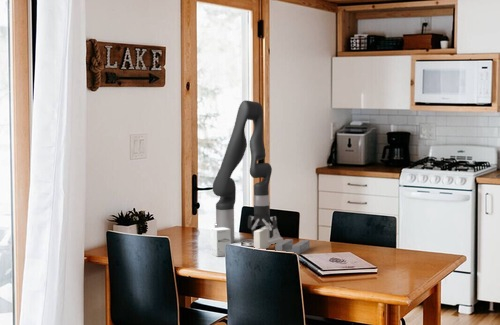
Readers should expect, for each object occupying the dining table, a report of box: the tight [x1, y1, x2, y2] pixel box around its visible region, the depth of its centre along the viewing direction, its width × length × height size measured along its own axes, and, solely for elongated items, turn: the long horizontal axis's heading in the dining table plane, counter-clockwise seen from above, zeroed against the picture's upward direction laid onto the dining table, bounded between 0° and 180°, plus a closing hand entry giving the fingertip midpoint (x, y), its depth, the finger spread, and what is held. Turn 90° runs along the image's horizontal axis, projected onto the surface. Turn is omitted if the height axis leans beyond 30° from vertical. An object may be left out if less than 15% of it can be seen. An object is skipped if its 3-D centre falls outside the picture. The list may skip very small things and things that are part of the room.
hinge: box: [259, 225, 284, 246], centre depth 405 cm, size 17×5×10 cm, turn 145°
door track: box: [274, 238, 311, 255], centre depth 384 cm, size 16×12×4 cm
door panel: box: [253, 227, 270, 250], centre depth 387 cm, size 12×3×10 cm, turn 158°
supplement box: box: [209, 227, 232, 257], centre depth 376 cm, size 7×7×13 cm
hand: (262, 237), depth 387 cm, fingers open, 8 cm apart
